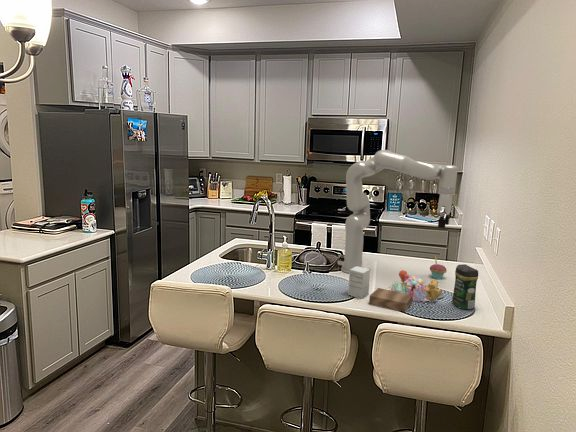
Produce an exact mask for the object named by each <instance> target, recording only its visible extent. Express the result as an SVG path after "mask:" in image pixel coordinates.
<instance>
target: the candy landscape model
mask: <svg viewBox="0 0 576 432" xmlns="http://www.w3.org/2000/svg"><path fill="white" fill-rule="evenodd" d="M398 277H399V278H400V282H397V281H394V282H393V283H392V286H390V287H389V288H388V290H391V291H396V292H401V293H405V294H410V295H413V300H414V301H413V302H415V301H418V302H419V301H427V300H429V301H436V302H438V299H442V298H443V297H444V296H443V291H442V289H441V288H438V285H439V281H438V279H435V278H432V279H431V280H430V283H429V284H427V285H425V281H424V280H423V279H422V278H419V276H418V275H416V276H415V275H411V276H409V274H408V273H407V271H406V270H404V269H401V270H400V271H399V273H398ZM436 298H437V300H436ZM419 303H420V302H419Z"/></svg>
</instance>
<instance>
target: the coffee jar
mask: <svg viewBox="0 0 576 432" xmlns="http://www.w3.org/2000/svg"><path fill="white" fill-rule="evenodd" d="M454 274H455V278H454V279H455V281H454V287H453V293H452V300H451V303H452V304H453V305H454V306H455V305H456V307H457V308H459V307H460V308H459V309H461V308H462V310H466V309H470V310H473V309H475V307H476V290H477V283H478V279H479V270H477V269H476V268H474V267H471V266H470V265H467V264H466V263H465V264H464V263H463V264H458V265H456V267H455V273H454Z"/></svg>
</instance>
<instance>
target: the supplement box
mask: <svg viewBox="0 0 576 432" xmlns="http://www.w3.org/2000/svg"><path fill="white" fill-rule="evenodd" d="M370 275H371V268H367V267H358V266H356V267H354V268H352V269H350V271H349V273H348V290H347V296H349V295H351V296H350V297H352V296H354V297H353V298H357V299H361V300H363V299H364V298H366V297H367V296H368V295H369V292H370V291H369V290H370V278H371V276H370Z"/></svg>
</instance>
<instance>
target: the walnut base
mask: <svg viewBox="0 0 576 432" xmlns="http://www.w3.org/2000/svg"><path fill="white" fill-rule="evenodd" d="M368 299H369V300H368V305H371V306H374V307H378V308H379V307H380V308H384V309H389V310H393V311H397V312H401V311H403V312H402V313H406V312H407V311H406V310H409V308H410V307H411V306H412V304H413V301H412V300H413V295H410V294H405V293H401V292H396V291H391V290H389V289H387V288H385V289H384V288H380V287H379V288H377V289H375V290H374V291H373V292H372V293H371V294H370V295H369V297H368ZM410 305H411V306H410ZM409 306H410V307H409ZM408 307H409V308H408ZM405 311H406V312H405Z"/></svg>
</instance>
